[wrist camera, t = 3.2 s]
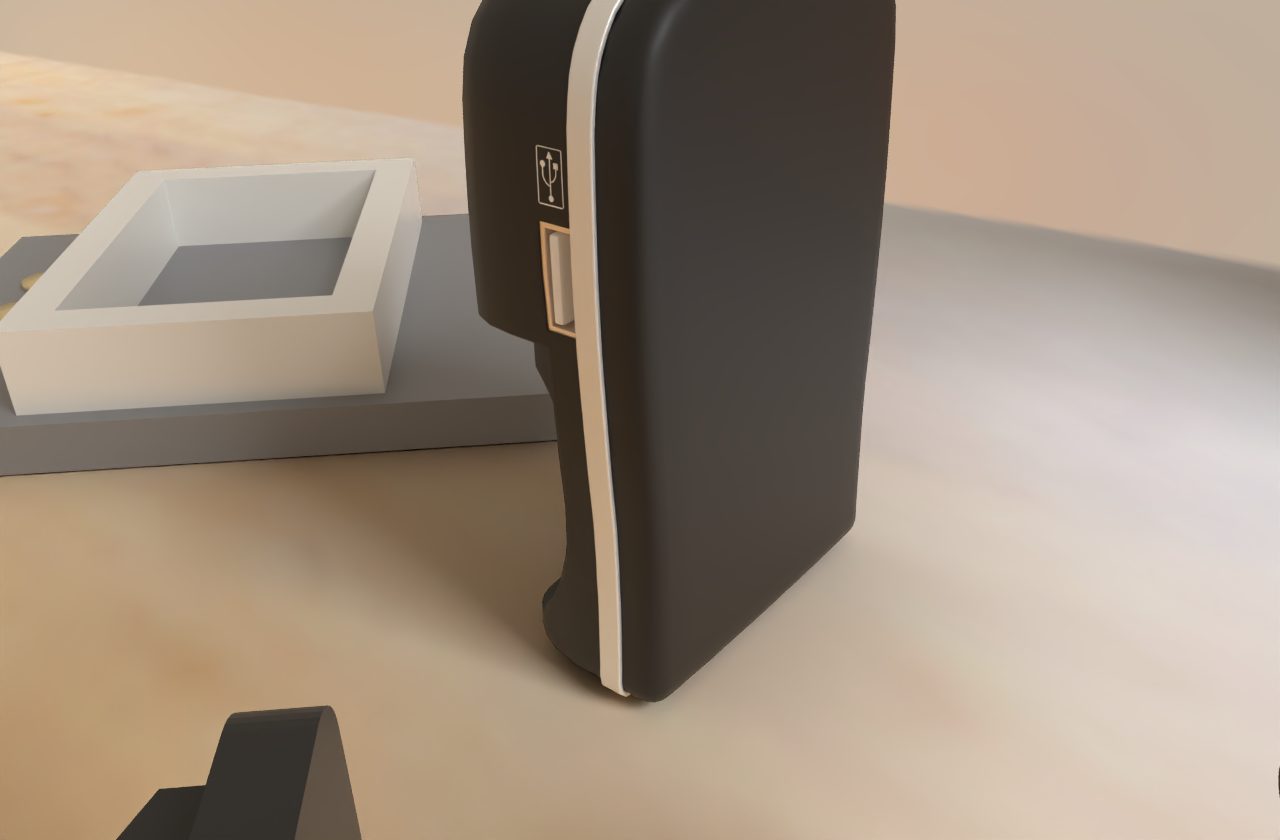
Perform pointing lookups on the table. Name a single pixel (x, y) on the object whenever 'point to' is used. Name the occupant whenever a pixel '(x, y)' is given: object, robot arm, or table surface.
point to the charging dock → (255, 326)
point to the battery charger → (684, 294)
